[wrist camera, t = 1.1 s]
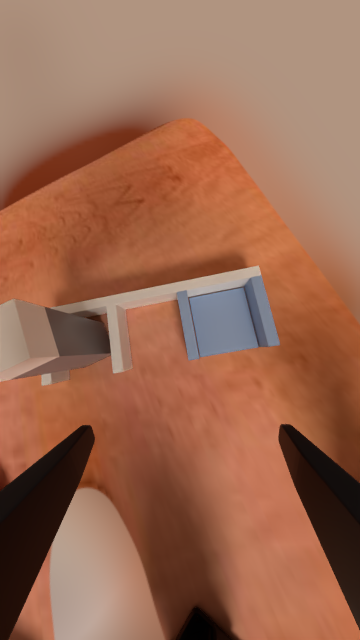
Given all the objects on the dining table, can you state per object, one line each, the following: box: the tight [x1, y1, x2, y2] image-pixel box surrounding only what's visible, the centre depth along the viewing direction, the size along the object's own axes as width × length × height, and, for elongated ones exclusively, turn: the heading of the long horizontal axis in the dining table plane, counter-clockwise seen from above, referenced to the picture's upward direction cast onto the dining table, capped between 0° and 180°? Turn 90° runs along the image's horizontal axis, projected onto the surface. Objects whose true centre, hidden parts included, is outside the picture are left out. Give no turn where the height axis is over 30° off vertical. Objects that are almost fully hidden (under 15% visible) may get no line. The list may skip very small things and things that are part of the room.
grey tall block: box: [0, 299, 111, 382], centre depth 18 cm, size 4×4×12 cm
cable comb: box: [41, 266, 280, 386], centre depth 22 cm, size 27×9×3 cm, turn 100°
